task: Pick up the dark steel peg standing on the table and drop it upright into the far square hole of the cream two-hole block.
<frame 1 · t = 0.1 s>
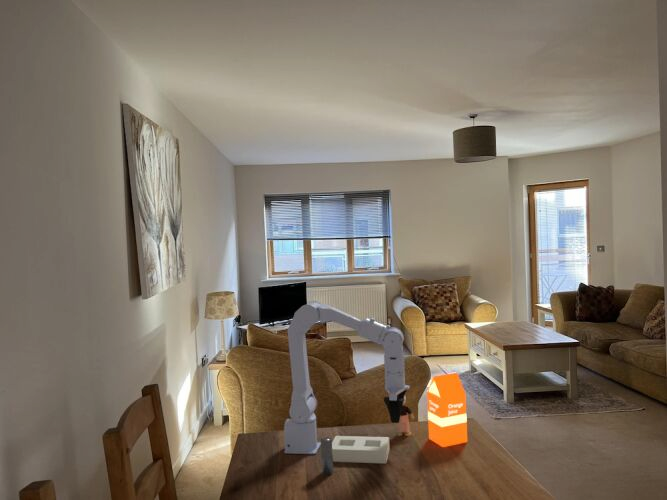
hand: (396, 417, 151), 10 cm above the table, tool pointing down, fingers open, 7 cm apart
orange juice: (448, 441, 159), on the table
peg: (327, 472, 141), on the table
grandmother figurine: (402, 434, 166), on the table
hole block: (360, 455, 151), on the table
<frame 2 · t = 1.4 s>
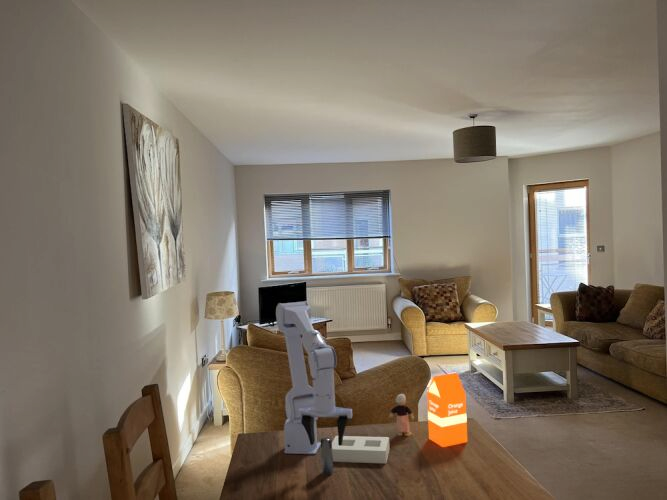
hand: (326, 443, 140), 8 cm above the table, tool pointing down, fingers open, 7 cm apart
nothing on the table moved.
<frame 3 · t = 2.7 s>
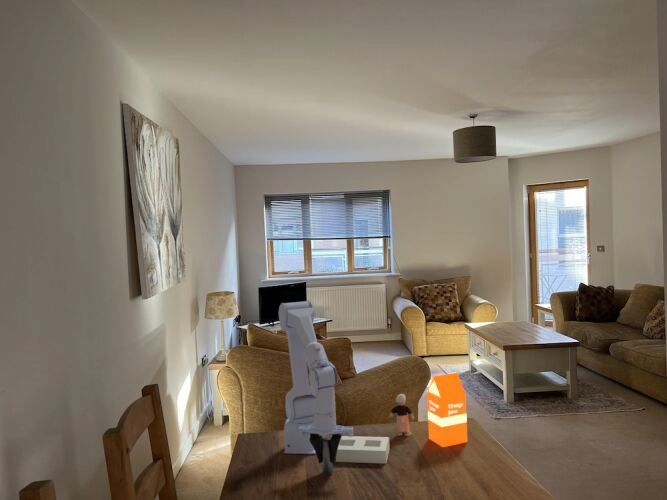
hand: (327, 461, 141), 3 cm above the table, tool pointing down, fingers closed on peg, 3 cm apart
peg: (327, 472, 141), on the table, touching gripper
everything else where it was.
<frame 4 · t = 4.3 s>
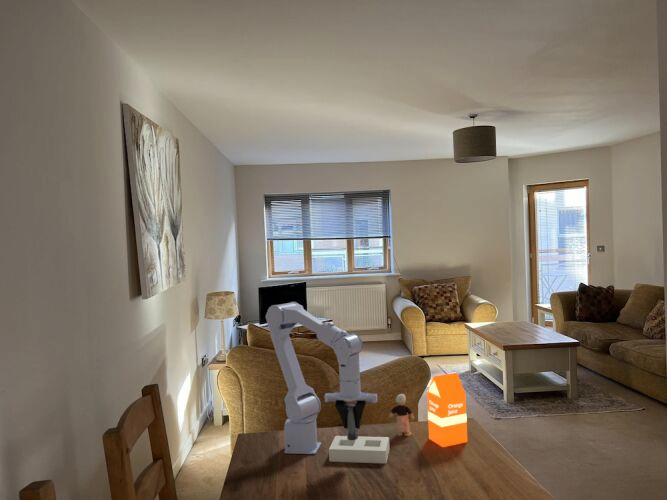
hand: (352, 427, 146), 10 cm above the table, tool pointing down, fingers closed on peg, 3 cm apart
peg: (352, 438, 146), point 7 cm above the table, touching gripper
everything else where it was.
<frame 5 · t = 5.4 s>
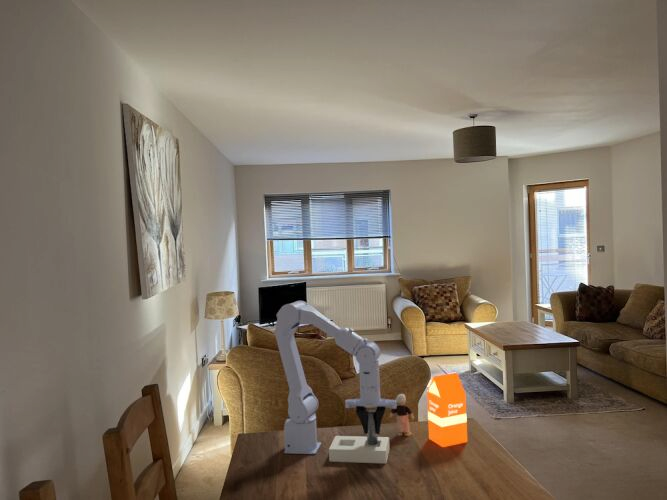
hand: (372, 432, 150), 7 cm above the table, tool pointing down, fingers closed on peg, 3 cm apart
peg: (372, 443, 150), point 4 cm above the table, touching gripper
everything else where it was.
when the fingers open (4 cm above the table, at t = 6.2 s): peg drops 1 cm, resting in hole block.
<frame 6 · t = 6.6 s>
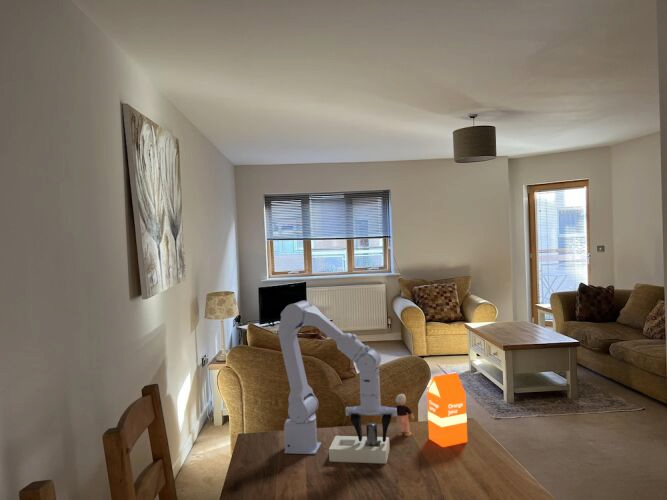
hand: (372, 440, 150), 4 cm above the table, tool pointing down, fingers open, 6 cm apart
peg: (373, 455, 150), resting in hole block
everything else where it was.
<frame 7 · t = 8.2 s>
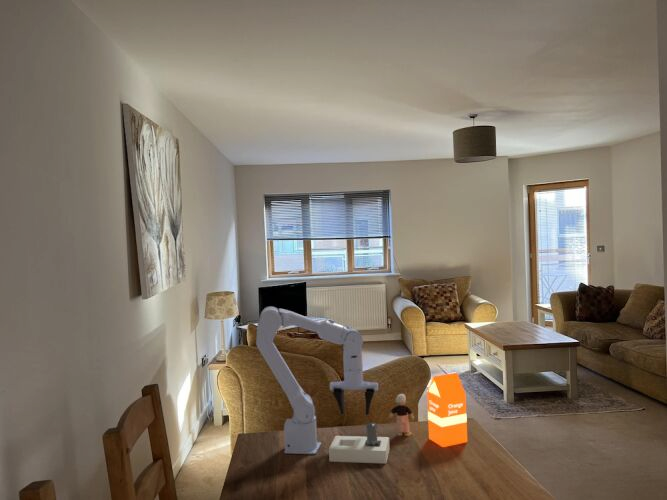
hand: (355, 413, 159), 9 cm above the table, tool pointing down, fingers open, 7 cm apart
nothing on the table moved.
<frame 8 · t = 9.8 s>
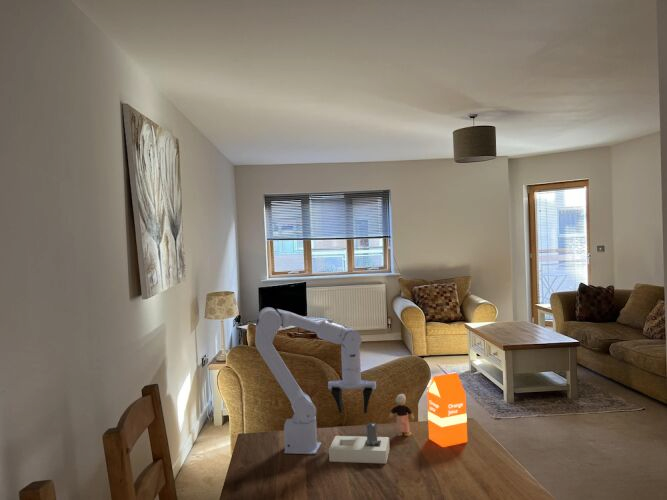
hand: (353, 412, 160), 9 cm above the table, tool pointing down, fingers open, 7 cm apart
nothing on the table moved.
at the end: peg 0.2 cm from the target spot on the hole block, point 0.0 cm above the hole block's base; peg tilted 0°; the gripper is holding nothing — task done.
